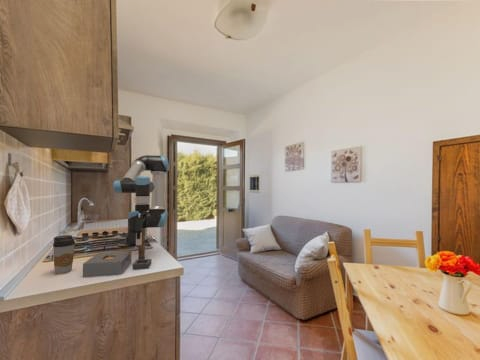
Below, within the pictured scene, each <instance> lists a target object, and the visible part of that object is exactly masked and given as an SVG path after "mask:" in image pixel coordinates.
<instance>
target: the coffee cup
mask: <svg viewBox="0 0 480 360" xmlns="http://www.w3.org/2000/svg"><path fill="white" fill-rule="evenodd" d="M75 244H76V241H75V239H74V237H72V238H64V239H58V240H55V241H54V240H53V244H52V248H53V249H54V260H53V266H54V273H55V275H65V274H68V273H70V272H71V271H72V270H73V263H74V254H75ZM53 249H52V250H53Z"/></svg>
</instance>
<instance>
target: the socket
mask: <svg viewBox="0 0 480 360" xmlns="http://www.w3.org/2000/svg"><path fill="white" fill-rule="evenodd" d="M151 265H152V258H145V259H139V260H138V259H135V261H134V262H133V264H132V269H131V270H133V271H134V270H149V269H150V266H151Z"/></svg>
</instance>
